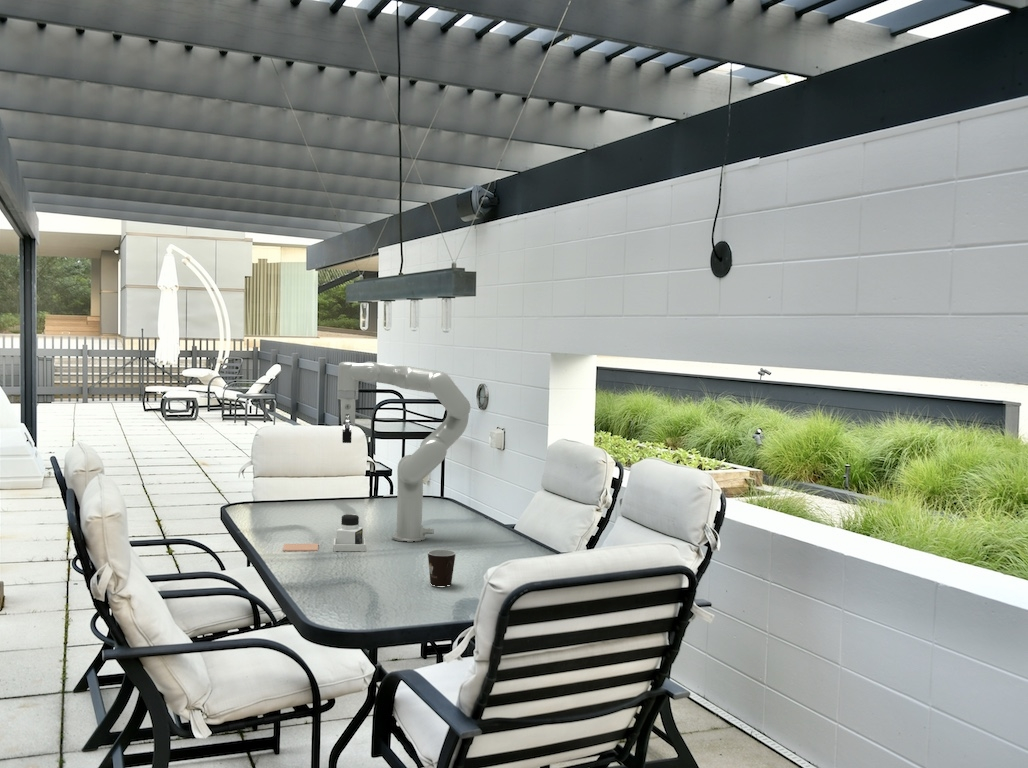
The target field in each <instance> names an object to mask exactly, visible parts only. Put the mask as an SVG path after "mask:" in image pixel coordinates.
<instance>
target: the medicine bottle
mask: <svg viewBox="0 0 1028 768" xmlns="http://www.w3.org/2000/svg"><path fill="white" fill-rule="evenodd" d="M359 517H360V516H358V515H357V514H354V513H347V514H343V515H342V516H341V522H340V523H341V527H340V528H337V529H336V538H337V544H362V538H363V534H364V533H363V530H364V529H363V528H364V527H362V526H359V521H360V518H359Z"/></svg>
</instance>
